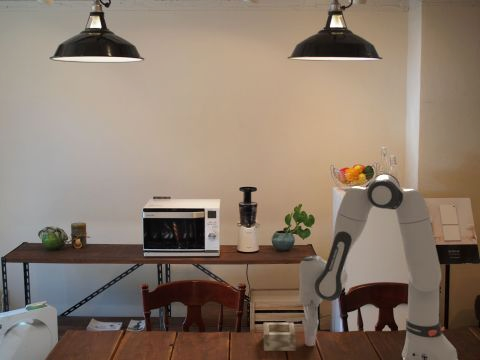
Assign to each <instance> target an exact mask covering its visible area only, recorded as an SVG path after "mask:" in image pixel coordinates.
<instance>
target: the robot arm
mask: <svg viewBox="0 0 480 360" xmlns="http://www.w3.org/2000/svg"><path fill="white" fill-rule="evenodd" d="M373 207H375V208H378V209H384V210H385V209H386V210H395V212H396V217H397V221H398V222H397V223H398V224H399V231H400V234H401V239H402V244H403V249H404V255H405V260H406V265H407V266H406V267H407V271H408V293H407V295H408V296H407V318H405V319H406V320H405V330H406V336H405V340H404V341H405V342H404V346H403V350H402V352H401V357H402V360H458V352H457V349H456V348H455V347H454V345H453V344H452V343H451V341H449V340H448V339H447V337H446V336H445V335H444V333H443V331H445V329H446V328H445V326H443V327H442V325H441V323H440V321H439V320H440V319H439V317H440V316H439V315H440V283H441V281H442V269H441V265H440V260H439V255H438V251H437V247H436V241H435V236H434V231H433V226H432V222H431V217H430V213H429V209H428V206H427V203H426V200H425V197H424V196H423V194H422V192H421V191H420V190H418V189H416V188H407V189H406V188H405V189H403V188H402V187H401V185H400V182H399V180H398V179H397V178H396V177H395V176H394V175H393V174H389V173H380V174H379V175H376V176H375V177H374V178H373V179H371V181H369V182H368V183H367V184H366V186H365V187H362V186H355V185H354V186H351V187H349V188H348V189H347V190H346V191H345V193H344V196H343V198H342V200H341V202H340V205H339V208H338V210H337V214H336V218H335V222H334V223H335V224H334V231H333V238H332V246H331V249H330V252H329V255H328V257H327V261H326V260H325V259H323V258H322V257H321V256H319V255H308V256H305V257H304V258H302V260H301V261H300V264H299V282H300V285H299V287H298V289H299V291H298V294H299V297H298V298H299V299H298V301H299V303H301V304H302V308H303V311H304V316H305V318H306V321H307V325H308V328H309V336H314V330H315V329H317V330H318V327H319V324H318V321H319V318H318V317H319V315H318V308H319V304H322V302H323V300H324V301H328V302H333V301H335V300H337V299H338V298H340V296H341V294H342V291H343V290H344V287H345V286H346V283H347V282H348V274H347V272H346V270H345V264H346V261H347V258H348V256H349V253H350V252H351V249H352V248H353V247H354V245H355V244H356V242H357V241H358V240H359V238H360V237H361V235H362V233H363V232H364V229H365V226H366V224H367V221H368V218H369V214H370V212H371V210H372V208H373Z"/></svg>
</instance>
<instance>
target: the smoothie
mask: <svg viewBox="0 0 480 360" xmlns="http://www.w3.org/2000/svg"><path fill="white" fill-rule="evenodd" d="M301 323H302V325H303V334H304V343H305V345H306V346H308V347H314V346H315V345H316V340H317V339H316V338H317V333H318V328H317V329H315V330H314V336H309V328H308V325H307V321H306V317H305V318H303V319H302V322H301ZM318 325H319V320H318Z"/></svg>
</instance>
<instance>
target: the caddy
mask: <svg viewBox="0 0 480 360" xmlns="http://www.w3.org/2000/svg"><path fill="white" fill-rule="evenodd" d="M262 327H263V335H262V336H263V351H265V352H267V351H270V352H271V351H277V352H278V351H284V352H285V351H286V352H287V351H294V352H295V351H296V330H295V324H294V322H263V325H262Z"/></svg>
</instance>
